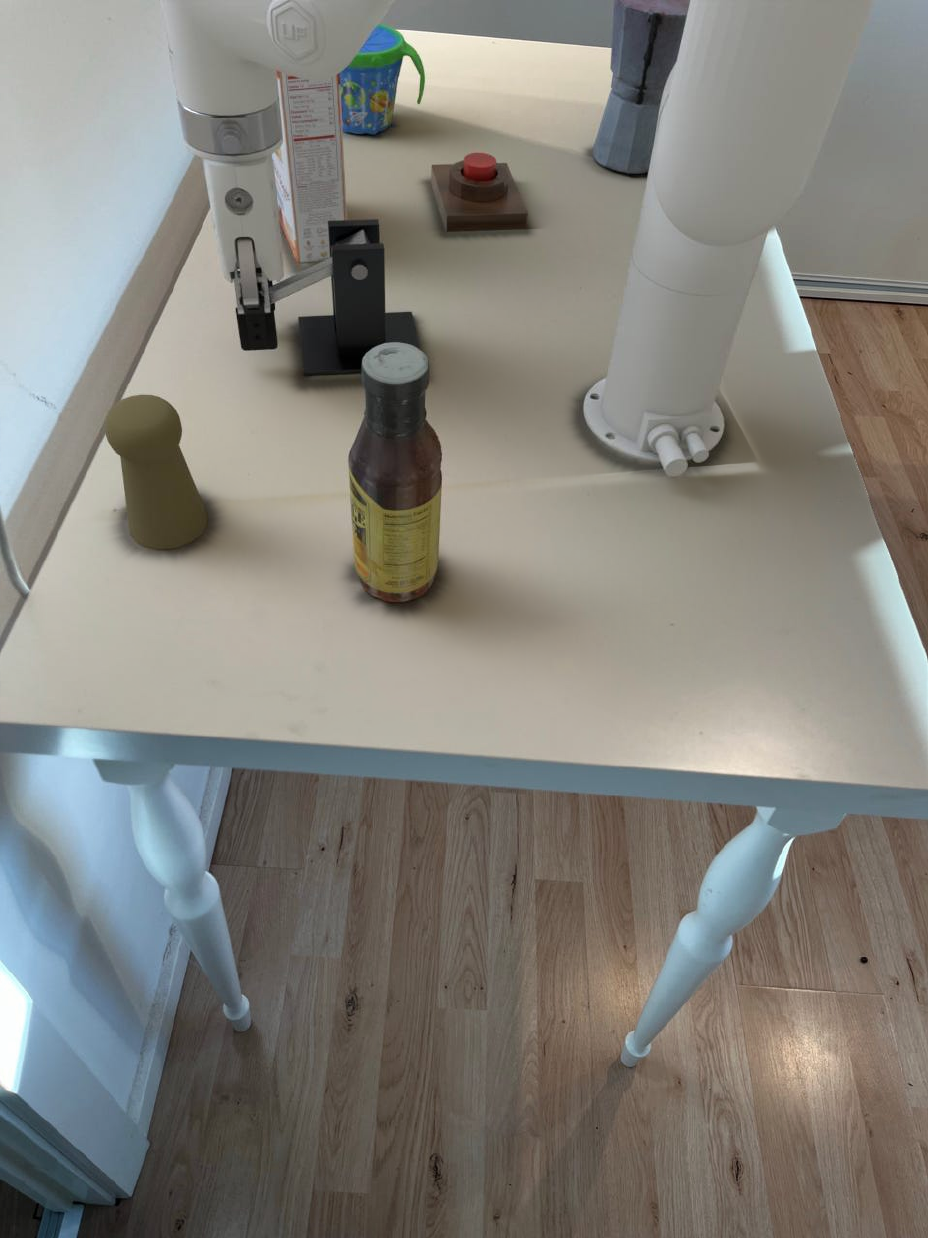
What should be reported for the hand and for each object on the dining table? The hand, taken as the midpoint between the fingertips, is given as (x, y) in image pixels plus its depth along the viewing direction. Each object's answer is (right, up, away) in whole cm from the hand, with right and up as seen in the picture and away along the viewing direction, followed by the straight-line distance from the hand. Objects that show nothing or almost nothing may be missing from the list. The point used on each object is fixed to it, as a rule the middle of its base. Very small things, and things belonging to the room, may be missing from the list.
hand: (258, 327), depth 86 cm
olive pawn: (-5, -19, -12) cm, 23 cm away
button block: (+20, +21, +23) cm, 37 cm away
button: (+20, +23, +20) cm, 37 cm away
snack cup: (+6, +37, +35) cm, 51 cm away
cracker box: (+2, +15, +17) cm, 23 cm away
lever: (+6, +3, -2) cm, 7 cm away
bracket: (+9, -1, +4) cm, 10 cm away
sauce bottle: (+14, -24, -14) cm, 31 cm away
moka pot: (+39, +30, +32) cm, 59 cm away
